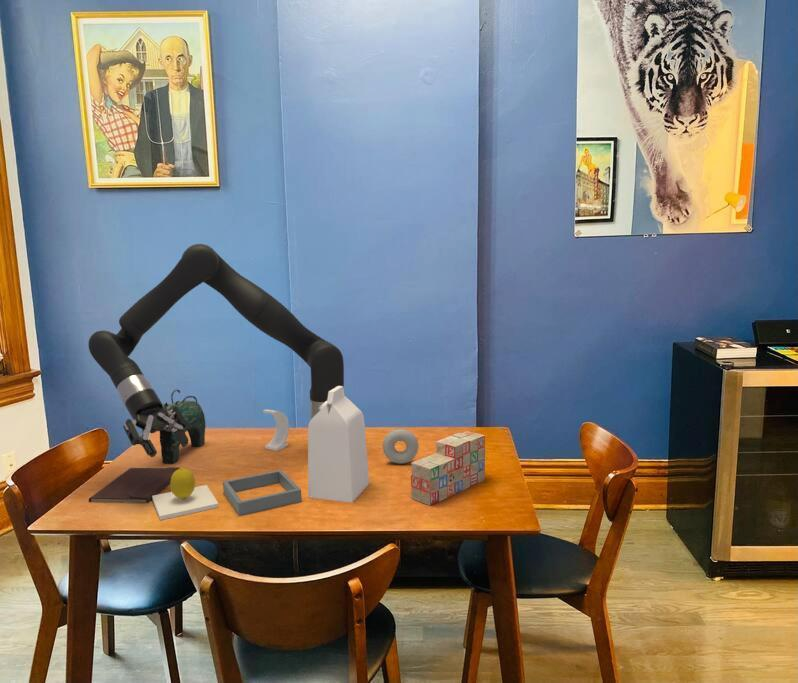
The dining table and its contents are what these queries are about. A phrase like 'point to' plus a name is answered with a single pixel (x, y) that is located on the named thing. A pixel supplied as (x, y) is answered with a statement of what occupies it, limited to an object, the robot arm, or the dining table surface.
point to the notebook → (135, 485)
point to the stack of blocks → (449, 468)
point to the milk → (337, 450)
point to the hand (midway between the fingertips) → (170, 449)
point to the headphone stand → (278, 431)
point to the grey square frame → (264, 501)
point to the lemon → (182, 483)
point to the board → (184, 503)
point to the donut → (406, 438)
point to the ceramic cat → (194, 428)
